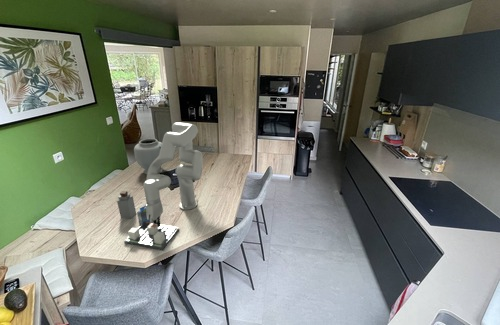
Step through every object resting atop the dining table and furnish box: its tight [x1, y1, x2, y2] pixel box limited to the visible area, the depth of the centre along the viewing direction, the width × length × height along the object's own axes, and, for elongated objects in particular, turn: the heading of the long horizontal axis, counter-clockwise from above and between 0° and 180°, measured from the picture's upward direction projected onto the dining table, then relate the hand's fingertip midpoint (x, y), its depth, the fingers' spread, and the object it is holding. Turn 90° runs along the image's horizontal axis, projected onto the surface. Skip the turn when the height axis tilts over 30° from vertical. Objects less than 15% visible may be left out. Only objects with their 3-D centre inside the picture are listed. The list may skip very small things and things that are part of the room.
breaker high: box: [154, 232, 165, 244], centre depth 132 cm, size 4×4×5 cm
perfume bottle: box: [116, 190, 137, 220], centre depth 156 cm, size 7×7×18 cm
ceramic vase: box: [133, 138, 164, 175], centre depth 221 cm, size 27×27×30 cm
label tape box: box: [136, 204, 150, 225], centre depth 152 cm, size 9×4×12 cm, turn 150°
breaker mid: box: [147, 222, 158, 235], centre depth 139 cm, size 4×4×5 cm
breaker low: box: [127, 227, 140, 240], centre depth 135 cm, size 4×4×5 cm
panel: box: [123, 221, 180, 252], centre depth 140 cm, size 18×24×3 cm
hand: (157, 226), depth 144 cm, fingers closed
